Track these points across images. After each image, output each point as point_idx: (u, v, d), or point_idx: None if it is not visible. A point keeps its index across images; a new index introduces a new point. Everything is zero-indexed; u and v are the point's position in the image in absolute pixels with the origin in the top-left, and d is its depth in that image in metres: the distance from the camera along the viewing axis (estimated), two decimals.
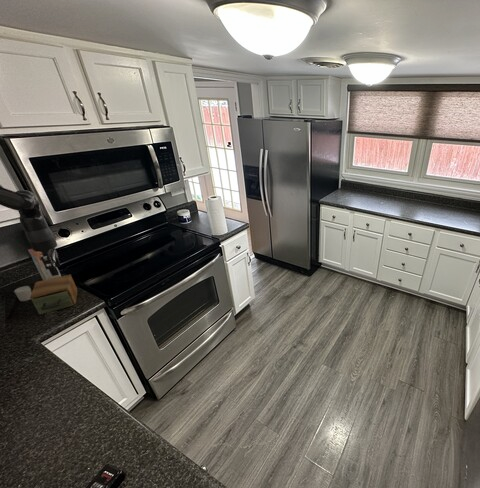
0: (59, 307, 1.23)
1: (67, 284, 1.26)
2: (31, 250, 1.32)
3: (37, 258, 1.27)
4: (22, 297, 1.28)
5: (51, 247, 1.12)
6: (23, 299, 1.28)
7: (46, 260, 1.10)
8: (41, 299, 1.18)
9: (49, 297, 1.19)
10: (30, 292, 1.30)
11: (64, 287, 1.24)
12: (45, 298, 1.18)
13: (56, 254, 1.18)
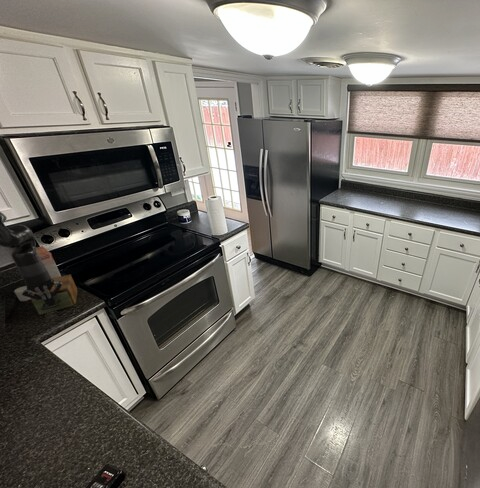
0: (59, 307, 1.22)
1: (67, 284, 1.26)
2: None
3: None
4: (22, 297, 1.28)
5: (27, 284, 1.09)
6: (23, 299, 1.28)
7: None
8: (41, 299, 1.18)
9: None
10: None
11: (64, 287, 1.24)
12: None
13: (45, 291, 1.14)
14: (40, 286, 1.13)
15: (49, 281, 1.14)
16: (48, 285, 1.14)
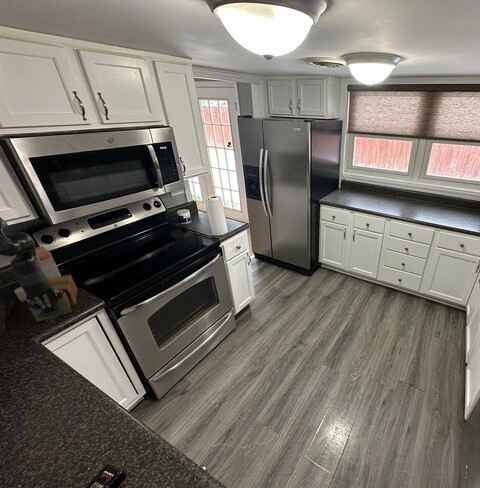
0: (57, 314, 1.18)
1: (67, 284, 1.26)
2: None
3: (37, 258, 1.27)
4: (22, 297, 1.28)
5: (26, 293, 1.06)
6: (23, 299, 1.28)
7: None
8: None
9: None
10: None
11: (64, 287, 1.24)
12: None
13: (45, 300, 1.11)
14: (40, 295, 1.10)
15: (49, 290, 1.11)
16: (48, 294, 1.11)
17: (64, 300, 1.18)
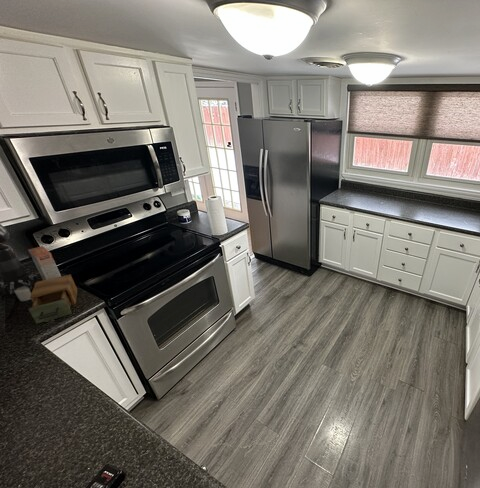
0: (57, 316, 1.17)
1: (67, 284, 1.26)
2: (31, 250, 1.32)
3: (37, 258, 1.27)
4: (22, 297, 1.28)
5: (3, 278, 1.21)
6: (23, 299, 1.28)
7: None
8: (38, 308, 1.13)
9: (47, 305, 1.14)
10: (30, 292, 1.30)
11: (64, 287, 1.24)
12: (42, 307, 1.13)
13: (24, 284, 1.27)
14: (15, 280, 1.25)
15: (23, 276, 1.26)
16: (23, 279, 1.27)
17: (64, 302, 1.17)
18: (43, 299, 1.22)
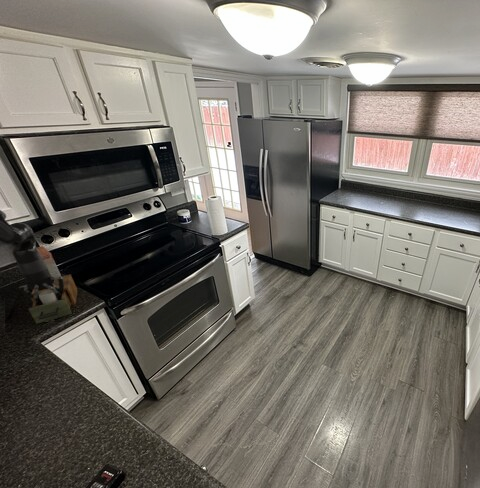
0: (57, 316, 1.17)
1: (67, 284, 1.26)
2: None
3: None
4: (47, 302, 1.16)
5: (27, 281, 1.10)
6: None
7: None
8: (38, 308, 1.13)
9: (47, 305, 1.14)
10: (55, 296, 1.18)
11: (64, 287, 1.24)
12: (42, 307, 1.13)
13: (49, 288, 1.15)
14: (40, 283, 1.14)
15: (48, 279, 1.15)
16: (48, 283, 1.15)
17: (64, 302, 1.17)
18: None
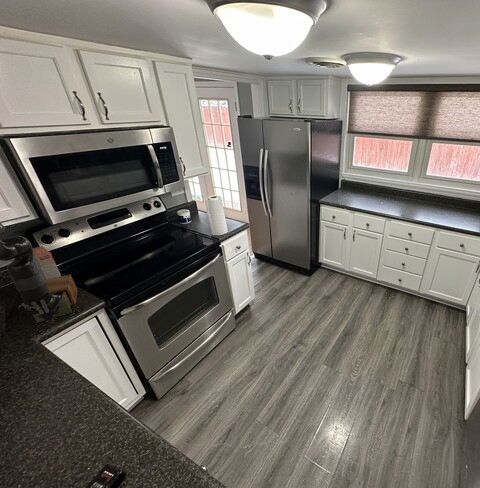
0: (57, 315, 1.18)
1: (67, 284, 1.26)
2: None
3: (37, 258, 1.27)
4: None
5: (23, 298, 1.03)
6: None
7: None
8: None
9: None
10: None
11: (64, 287, 1.24)
12: None
13: (43, 305, 1.08)
14: (37, 300, 1.07)
15: (47, 295, 1.08)
16: (46, 299, 1.08)
17: (64, 300, 1.18)
18: None
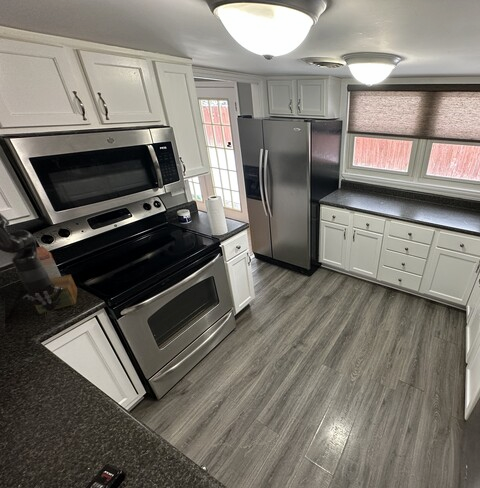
0: (59, 306, 1.23)
1: (67, 284, 1.26)
2: None
3: None
4: None
5: (27, 289, 1.08)
6: None
7: None
8: None
9: None
10: None
11: (64, 287, 1.24)
12: None
13: (46, 297, 1.13)
14: (40, 291, 1.12)
15: (49, 286, 1.13)
16: (48, 290, 1.13)
17: (66, 292, 1.23)
18: None
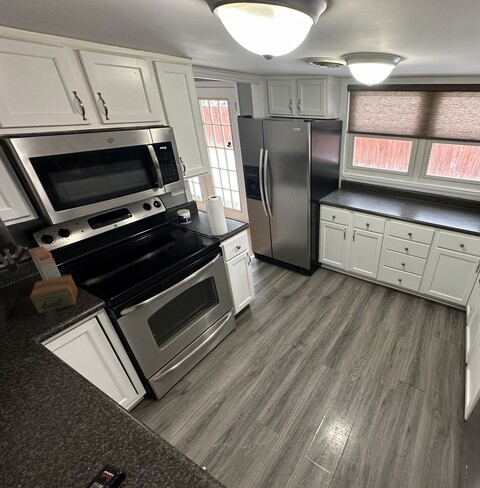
0: (59, 306, 1.23)
1: (67, 284, 1.26)
2: (31, 250, 1.32)
3: (37, 258, 1.27)
4: None
5: None
6: None
7: None
8: (41, 298, 1.18)
9: (49, 296, 1.20)
10: None
11: (64, 287, 1.24)
12: (45, 297, 1.19)
13: (7, 256, 1.03)
14: (1, 249, 1.02)
15: (11, 244, 1.03)
16: (10, 249, 1.04)
17: (66, 292, 1.23)
18: None
